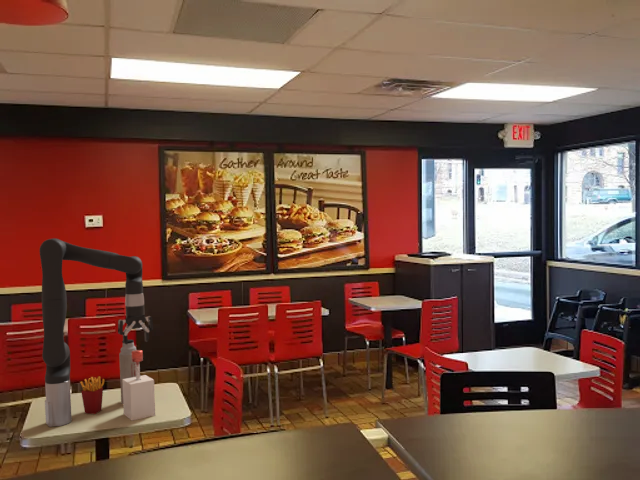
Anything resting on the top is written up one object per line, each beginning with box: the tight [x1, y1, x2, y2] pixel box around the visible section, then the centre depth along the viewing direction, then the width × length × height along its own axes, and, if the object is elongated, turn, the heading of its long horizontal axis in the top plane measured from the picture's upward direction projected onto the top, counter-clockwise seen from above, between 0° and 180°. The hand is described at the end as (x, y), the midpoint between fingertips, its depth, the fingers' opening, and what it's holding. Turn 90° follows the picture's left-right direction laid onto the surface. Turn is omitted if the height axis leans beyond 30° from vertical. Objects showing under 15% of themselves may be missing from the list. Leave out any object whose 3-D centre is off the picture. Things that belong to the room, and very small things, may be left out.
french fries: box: [79, 376, 106, 415], centre depth 259 cm, size 9×8×15 cm
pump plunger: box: [132, 349, 144, 381], centre depth 252 cm, size 4×4×20 cm
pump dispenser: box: [122, 374, 156, 421], centre depth 253 cm, size 10×10×15 cm
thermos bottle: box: [119, 339, 137, 405], centre depth 270 cm, size 8×8×28 cm
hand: (136, 342), depth 252 cm, fingers open, 8 cm apart
